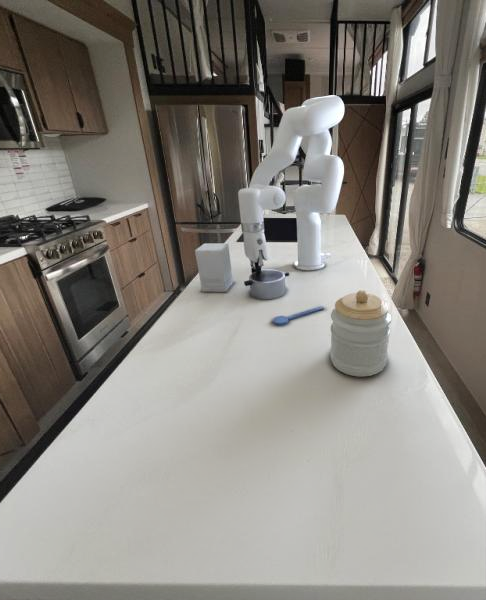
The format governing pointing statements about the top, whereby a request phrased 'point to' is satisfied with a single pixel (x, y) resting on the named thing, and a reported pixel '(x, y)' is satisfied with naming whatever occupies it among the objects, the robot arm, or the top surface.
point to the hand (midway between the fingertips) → (257, 277)
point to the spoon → (294, 316)
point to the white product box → (214, 267)
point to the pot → (267, 284)
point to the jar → (360, 334)
